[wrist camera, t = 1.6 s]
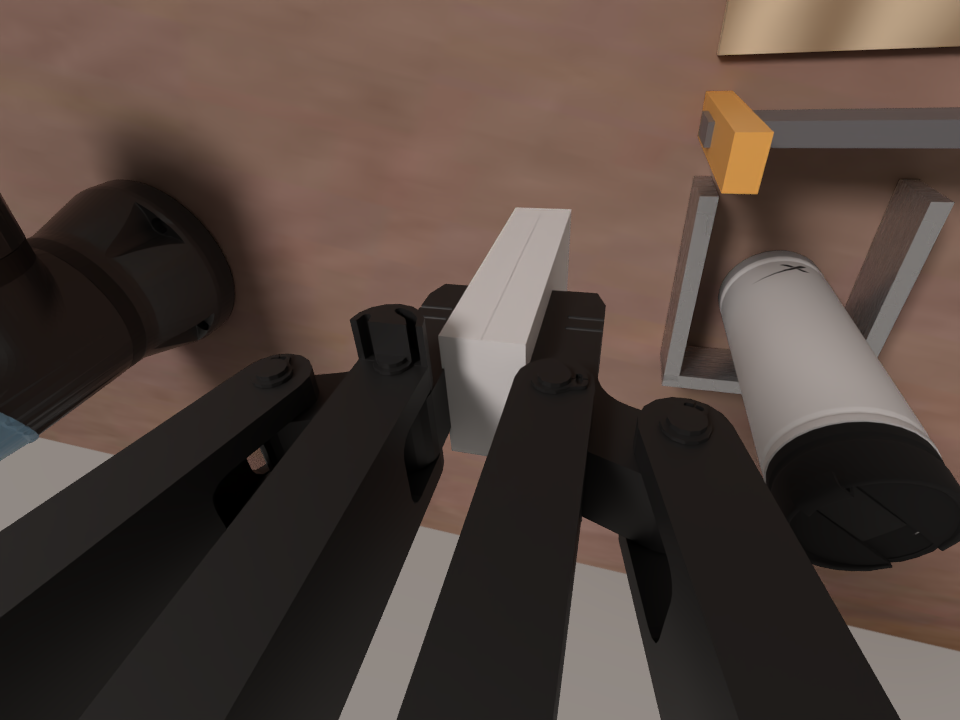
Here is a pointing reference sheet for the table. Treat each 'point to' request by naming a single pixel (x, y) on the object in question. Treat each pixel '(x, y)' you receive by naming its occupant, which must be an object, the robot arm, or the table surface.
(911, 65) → the table surface
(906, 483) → the travel mug
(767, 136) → the bar
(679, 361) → the holder
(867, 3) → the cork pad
